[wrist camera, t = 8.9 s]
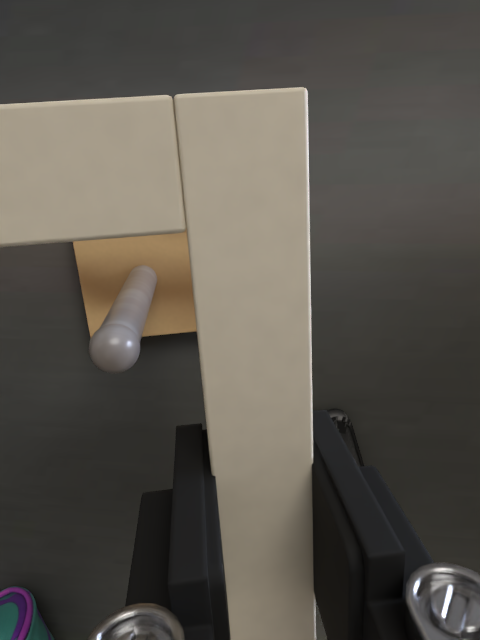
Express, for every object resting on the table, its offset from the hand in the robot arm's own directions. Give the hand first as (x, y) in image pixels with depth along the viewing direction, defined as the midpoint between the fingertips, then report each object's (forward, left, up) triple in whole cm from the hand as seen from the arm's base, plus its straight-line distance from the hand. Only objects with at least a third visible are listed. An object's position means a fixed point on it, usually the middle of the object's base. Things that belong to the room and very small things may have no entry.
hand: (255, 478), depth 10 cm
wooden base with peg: (0, -5, -23) cm, 23 cm away
